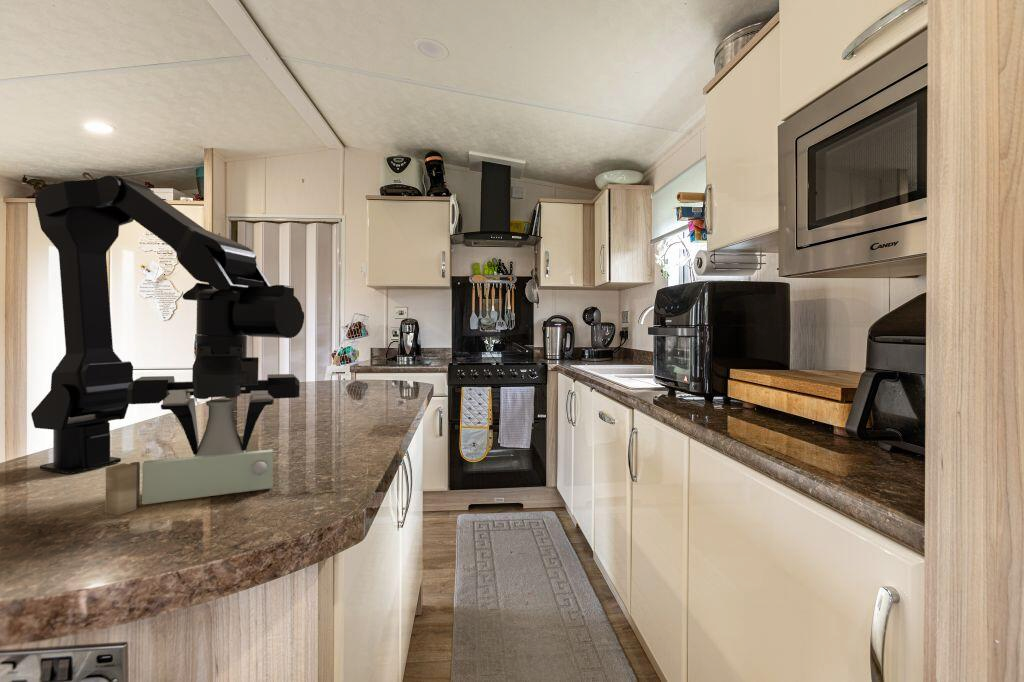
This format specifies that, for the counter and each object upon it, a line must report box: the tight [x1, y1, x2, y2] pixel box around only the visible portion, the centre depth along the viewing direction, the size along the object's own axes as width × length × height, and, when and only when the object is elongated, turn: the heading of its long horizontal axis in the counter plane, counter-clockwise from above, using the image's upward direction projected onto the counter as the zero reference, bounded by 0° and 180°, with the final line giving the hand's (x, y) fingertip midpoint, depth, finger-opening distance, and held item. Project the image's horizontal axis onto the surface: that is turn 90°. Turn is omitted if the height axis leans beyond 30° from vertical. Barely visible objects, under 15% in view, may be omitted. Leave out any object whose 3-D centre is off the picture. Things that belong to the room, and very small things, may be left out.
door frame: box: [105, 432, 259, 516], centre depth 59 cm, size 2×19×5 cm, turn 164°
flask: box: [194, 398, 246, 456], centre depth 61 cm, size 7×7×10 cm
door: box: [141, 448, 274, 505], centre depth 55 cm, size 2×13×5 cm, turn 119°
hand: (220, 451), depth 61 cm, fingers closed on flask, 5 cm apart
